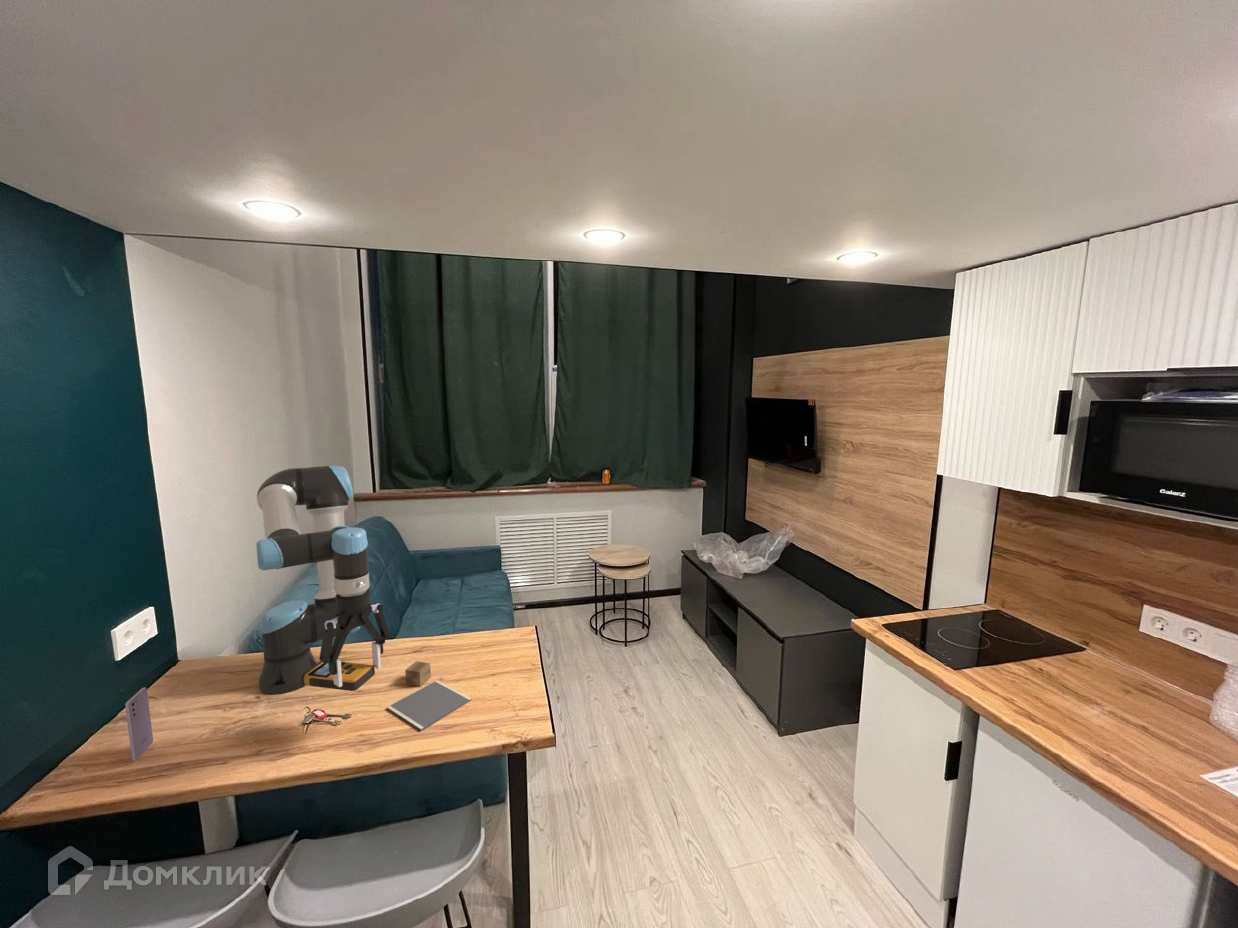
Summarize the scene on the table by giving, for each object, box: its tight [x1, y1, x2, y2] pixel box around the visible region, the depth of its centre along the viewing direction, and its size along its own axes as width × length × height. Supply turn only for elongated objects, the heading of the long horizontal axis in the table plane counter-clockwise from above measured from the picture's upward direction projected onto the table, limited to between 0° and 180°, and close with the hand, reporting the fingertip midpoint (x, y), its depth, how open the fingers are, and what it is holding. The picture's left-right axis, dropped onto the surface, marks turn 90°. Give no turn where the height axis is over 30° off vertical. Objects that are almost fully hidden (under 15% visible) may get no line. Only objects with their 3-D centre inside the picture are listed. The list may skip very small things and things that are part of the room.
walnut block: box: [404, 660, 432, 688], centre depth 148 cm, size 5×5×5 cm
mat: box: [386, 680, 472, 732], centre depth 137 cm, size 16×16×1 cm
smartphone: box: [124, 687, 154, 762], centre depth 117 cm, size 7×1×15 cm, turn 18°
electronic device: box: [301, 660, 376, 692], centre depth 126 cm, size 8×16×3 cm, turn 79°
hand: (358, 675), depth 124 cm, fingers closed on electronic device, 9 cm apart
